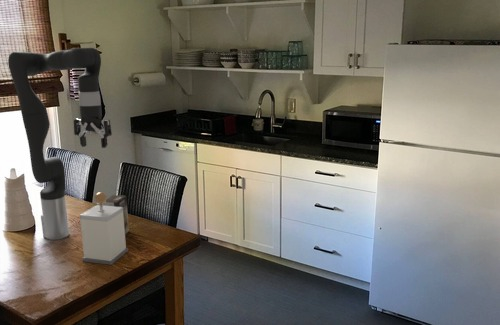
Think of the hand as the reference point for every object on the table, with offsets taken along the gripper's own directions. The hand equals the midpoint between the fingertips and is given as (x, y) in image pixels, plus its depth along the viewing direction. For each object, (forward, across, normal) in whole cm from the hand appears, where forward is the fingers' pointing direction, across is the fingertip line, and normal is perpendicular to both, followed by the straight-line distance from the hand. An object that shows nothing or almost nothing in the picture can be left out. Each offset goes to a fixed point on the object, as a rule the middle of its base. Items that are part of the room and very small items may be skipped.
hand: (94, 146), depth 176 cm
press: (+40, +6, -7) cm, 41 cm away
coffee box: (+40, 0, +11) cm, 42 cm away
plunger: (+35, +6, -8) cm, 36 cm away
